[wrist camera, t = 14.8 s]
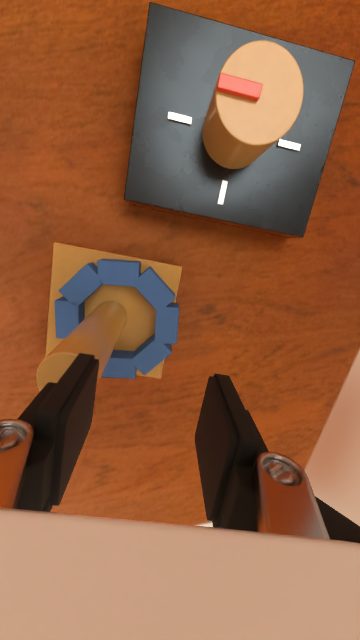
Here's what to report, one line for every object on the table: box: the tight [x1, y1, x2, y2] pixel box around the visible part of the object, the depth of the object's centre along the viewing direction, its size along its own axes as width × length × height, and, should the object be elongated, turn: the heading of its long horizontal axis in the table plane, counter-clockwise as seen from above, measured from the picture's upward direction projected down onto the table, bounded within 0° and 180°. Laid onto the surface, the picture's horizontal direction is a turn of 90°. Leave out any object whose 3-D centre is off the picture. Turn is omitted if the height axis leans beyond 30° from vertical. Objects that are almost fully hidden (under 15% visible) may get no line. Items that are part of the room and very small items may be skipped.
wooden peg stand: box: [36, 242, 182, 391], centre depth 17 cm, size 9×9×11 cm
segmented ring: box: [54, 259, 179, 379], centre depth 20 cm, size 8×8×2 cm
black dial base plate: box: [124, 2, 355, 238], centre depth 18 cm, size 12×10×3 cm
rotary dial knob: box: [202, 40, 304, 169], centre depth 15 cm, size 4×4×5 cm
